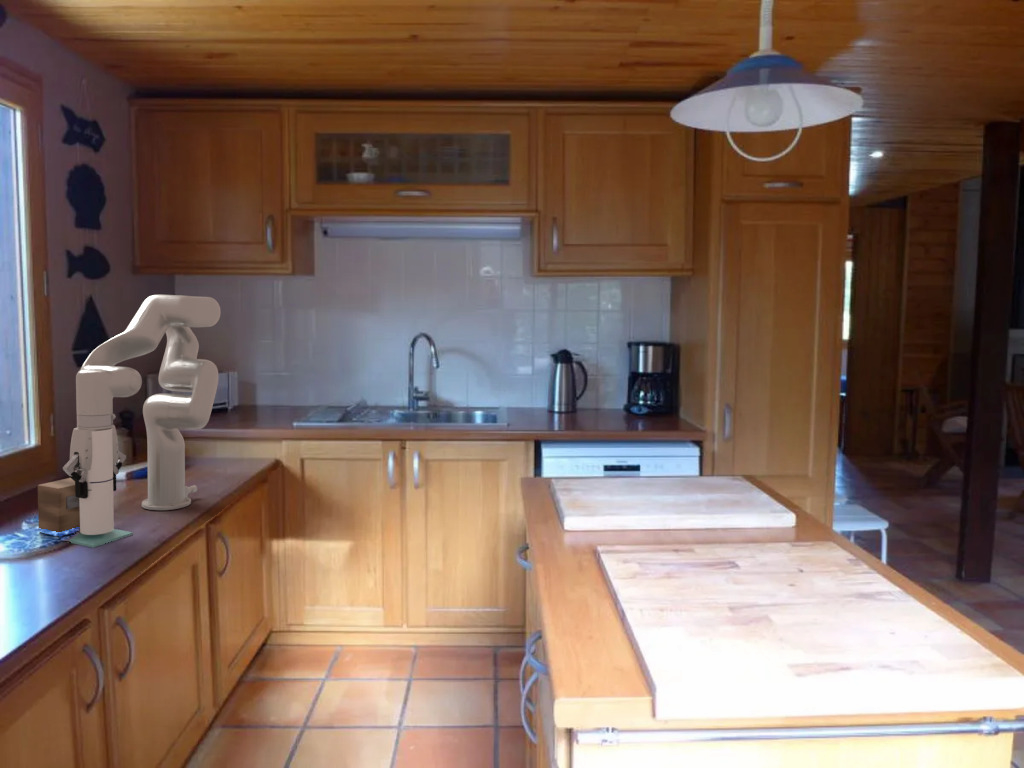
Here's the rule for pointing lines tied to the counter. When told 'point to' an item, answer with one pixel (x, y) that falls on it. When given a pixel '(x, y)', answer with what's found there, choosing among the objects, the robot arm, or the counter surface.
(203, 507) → the counter surface
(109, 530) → the cylindrical container
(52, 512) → the walnut housing
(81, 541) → the teal pad
